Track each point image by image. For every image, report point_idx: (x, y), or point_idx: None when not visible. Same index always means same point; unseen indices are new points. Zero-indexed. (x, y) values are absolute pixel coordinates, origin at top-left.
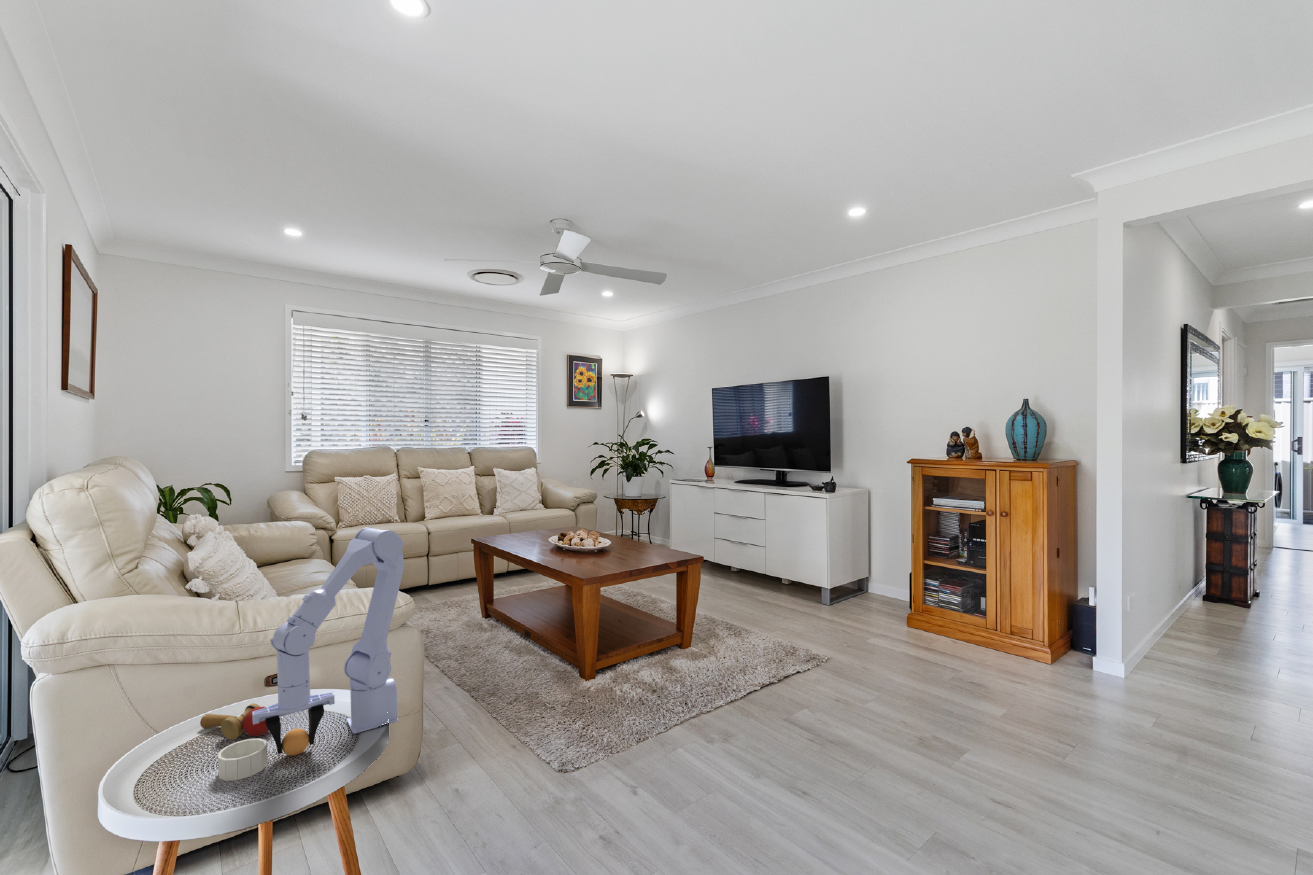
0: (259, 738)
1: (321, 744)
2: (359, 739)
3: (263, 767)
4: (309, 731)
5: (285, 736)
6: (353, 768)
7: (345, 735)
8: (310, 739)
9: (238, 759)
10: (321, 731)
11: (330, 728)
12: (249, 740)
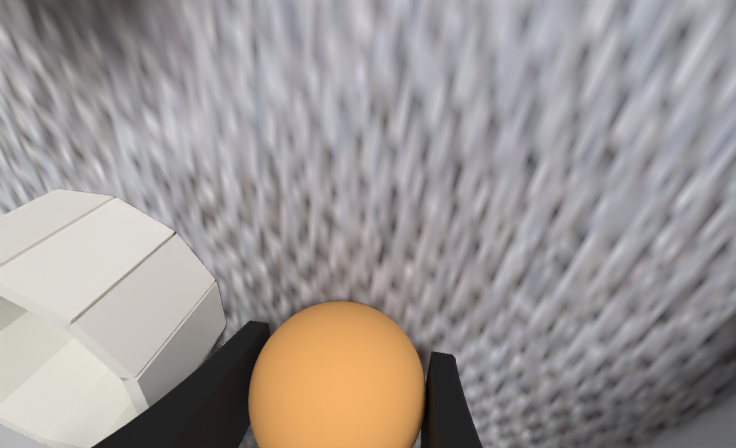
0: (76, 323)
1: (507, 328)
2: (703, 421)
3: (210, 350)
4: (430, 437)
5: (256, 438)
6: None
7: (689, 329)
8: (421, 440)
9: (54, 445)
10: (613, 134)
11: (709, 130)
12: (9, 295)
